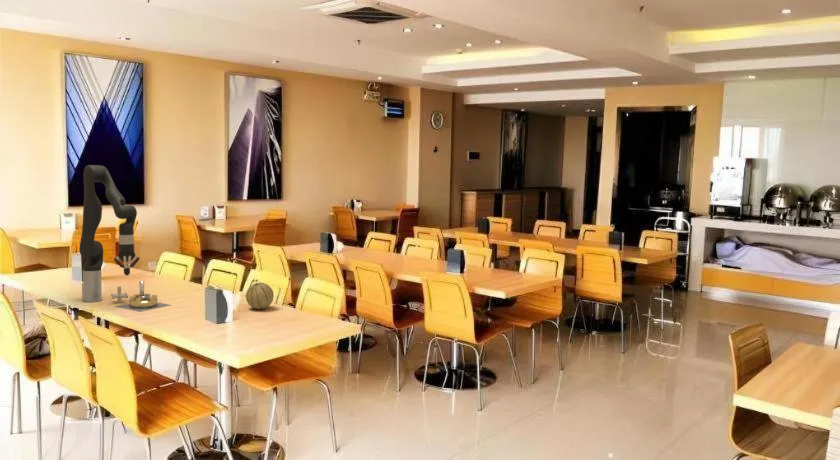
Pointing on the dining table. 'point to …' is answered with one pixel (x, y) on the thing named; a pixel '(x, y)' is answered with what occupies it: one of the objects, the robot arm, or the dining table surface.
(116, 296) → the pipe connector
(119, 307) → the base plate
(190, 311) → the dining table surface
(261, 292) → the cantaloupe
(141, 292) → the brass lugged hub
